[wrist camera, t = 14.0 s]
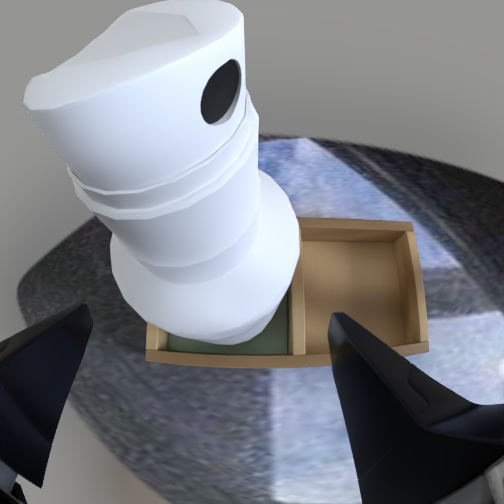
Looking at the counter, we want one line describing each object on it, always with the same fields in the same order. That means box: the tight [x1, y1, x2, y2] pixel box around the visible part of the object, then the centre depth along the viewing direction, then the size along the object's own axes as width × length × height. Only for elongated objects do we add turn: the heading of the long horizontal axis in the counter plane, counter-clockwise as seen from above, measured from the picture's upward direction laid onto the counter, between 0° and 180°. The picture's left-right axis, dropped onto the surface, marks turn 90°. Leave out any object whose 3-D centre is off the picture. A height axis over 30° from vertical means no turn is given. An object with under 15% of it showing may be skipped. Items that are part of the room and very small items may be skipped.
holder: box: [145, 217, 429, 368], centre depth 19 cm, size 10×19×3 cm, turn 90°
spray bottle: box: [23, 0, 300, 345], centre depth 11 cm, size 7×7×18 cm
